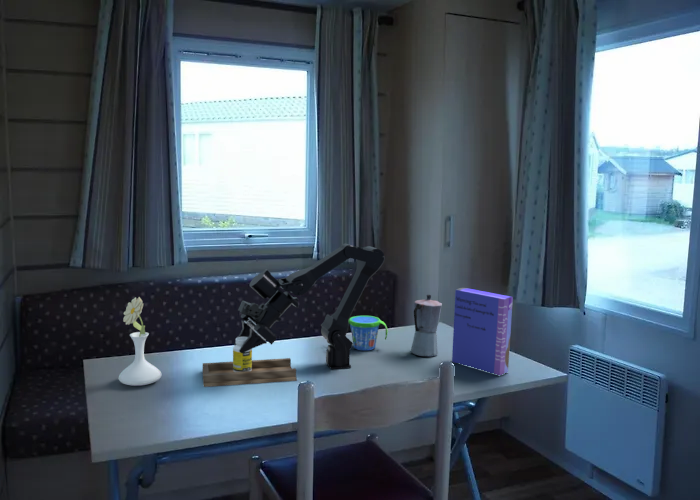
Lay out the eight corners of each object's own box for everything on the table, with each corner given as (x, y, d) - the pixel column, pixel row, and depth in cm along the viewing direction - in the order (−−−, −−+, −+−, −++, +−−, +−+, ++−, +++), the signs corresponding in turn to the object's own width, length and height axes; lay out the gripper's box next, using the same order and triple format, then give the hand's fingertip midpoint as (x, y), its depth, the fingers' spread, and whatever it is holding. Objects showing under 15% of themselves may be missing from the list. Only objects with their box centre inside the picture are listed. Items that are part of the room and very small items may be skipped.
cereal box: (507, 373, 184) (512, 296, 181) (499, 376, 181) (504, 298, 177) (460, 359, 196) (464, 287, 193) (451, 362, 193) (455, 288, 189)
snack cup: (338, 350, 202) (339, 321, 200) (345, 341, 212) (345, 313, 211) (384, 354, 199) (385, 324, 197) (388, 345, 209) (389, 317, 208)
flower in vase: (118, 377, 172) (115, 291, 168) (159, 373, 176) (158, 289, 173) (119, 393, 160) (116, 301, 156) (163, 388, 164) (162, 299, 161)
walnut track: (289, 365, 185) (289, 357, 185) (296, 380, 173) (296, 371, 172) (202, 371, 179) (202, 362, 178) (203, 386, 166) (203, 377, 166)
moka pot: (446, 351, 204) (449, 293, 202) (427, 362, 192) (430, 301, 189) (421, 345, 209) (423, 289, 207) (400, 357, 197) (403, 297, 194)
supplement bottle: (243, 375, 171) (243, 342, 170) (229, 371, 174) (228, 339, 173) (255, 370, 176) (255, 337, 175) (241, 366, 179) (241, 334, 177)
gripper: (246, 285, 182) (210, 324, 179) (264, 297, 165) (225, 341, 162) (271, 308, 186) (237, 346, 183) (291, 322, 169) (254, 365, 166)
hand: (237, 349), depth 173 cm, fingers closed on supplement bottle, 5 cm apart
